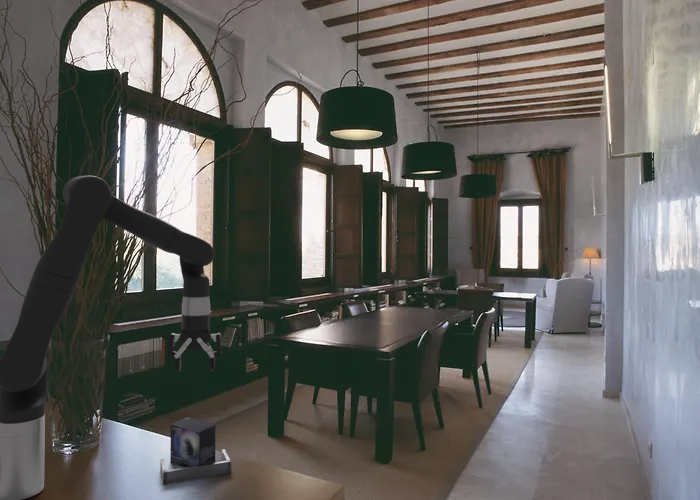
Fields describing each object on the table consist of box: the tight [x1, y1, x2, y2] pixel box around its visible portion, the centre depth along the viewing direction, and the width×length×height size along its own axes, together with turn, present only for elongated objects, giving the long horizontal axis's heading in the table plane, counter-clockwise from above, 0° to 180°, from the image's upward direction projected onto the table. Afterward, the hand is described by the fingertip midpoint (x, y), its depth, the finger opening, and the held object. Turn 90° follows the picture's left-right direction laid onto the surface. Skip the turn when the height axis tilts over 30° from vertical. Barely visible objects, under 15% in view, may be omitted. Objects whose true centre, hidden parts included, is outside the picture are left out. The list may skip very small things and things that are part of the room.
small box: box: [169, 417, 217, 468], centre depth 131 cm, size 11×6×10 cm, turn 62°
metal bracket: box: [159, 448, 232, 486], centre depth 126 cm, size 16×8×3 cm, turn 115°
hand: (194, 370), depth 139 cm, fingers open, 8 cm apart
